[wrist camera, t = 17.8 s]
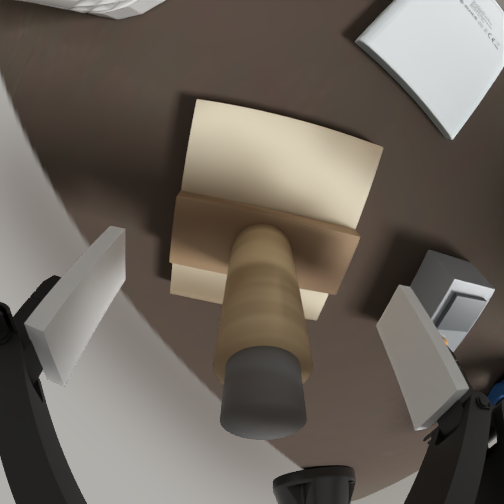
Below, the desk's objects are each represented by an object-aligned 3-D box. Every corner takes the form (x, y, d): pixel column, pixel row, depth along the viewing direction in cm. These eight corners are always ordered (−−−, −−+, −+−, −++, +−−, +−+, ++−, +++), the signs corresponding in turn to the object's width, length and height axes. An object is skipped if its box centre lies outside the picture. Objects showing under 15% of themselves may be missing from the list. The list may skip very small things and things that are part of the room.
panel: (314, 309, 21) (318, 330, 19) (174, 282, 20) (166, 302, 18) (375, 144, 15) (391, 150, 13) (201, 99, 14) (192, 98, 12)
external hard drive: (350, 43, 13) (439, -45, 8) (440, 137, 15) (510, 39, 10) (359, 38, 11) (451, -51, 6) (454, 141, 14) (523, 39, 9)
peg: (281, 281, 17) (297, 446, 8) (226, 269, 17) (200, 436, 8) (298, 231, 15) (340, 398, 7) (238, 217, 15) (214, 384, 6)
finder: (430, 327, 22) (449, 362, 18) (387, 322, 22) (405, 362, 18) (469, 261, 19) (498, 292, 15) (427, 248, 18) (457, 282, 14)
